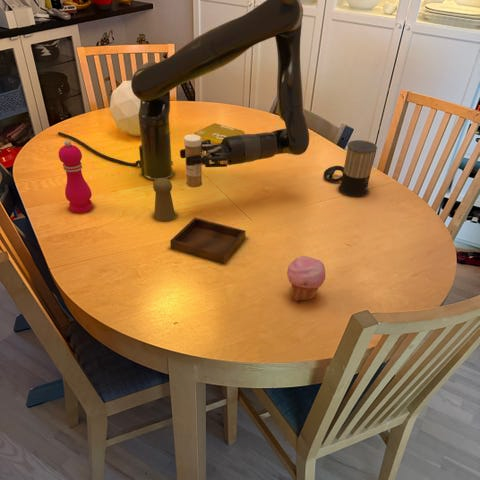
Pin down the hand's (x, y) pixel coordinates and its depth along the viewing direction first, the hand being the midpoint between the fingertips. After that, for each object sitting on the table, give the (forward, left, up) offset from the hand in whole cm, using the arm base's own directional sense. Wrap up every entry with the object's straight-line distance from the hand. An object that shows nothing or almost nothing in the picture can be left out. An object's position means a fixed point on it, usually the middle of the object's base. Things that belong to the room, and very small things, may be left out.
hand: (183, 157), depth 126 cm
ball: (-47, +47, -17) cm, 69 cm away
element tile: (-15, +53, -17) cm, 58 cm away
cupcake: (+43, -21, -17) cm, 51 cm away
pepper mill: (-29, -11, -17) cm, 36 cm away
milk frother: (+37, +41, -17) cm, 58 cm away
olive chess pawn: (-5, -4, -17) cm, 18 cm away
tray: (+13, -11, -17) cm, 24 cm away
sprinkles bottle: (+2, +2, -8) cm, 9 cm away
